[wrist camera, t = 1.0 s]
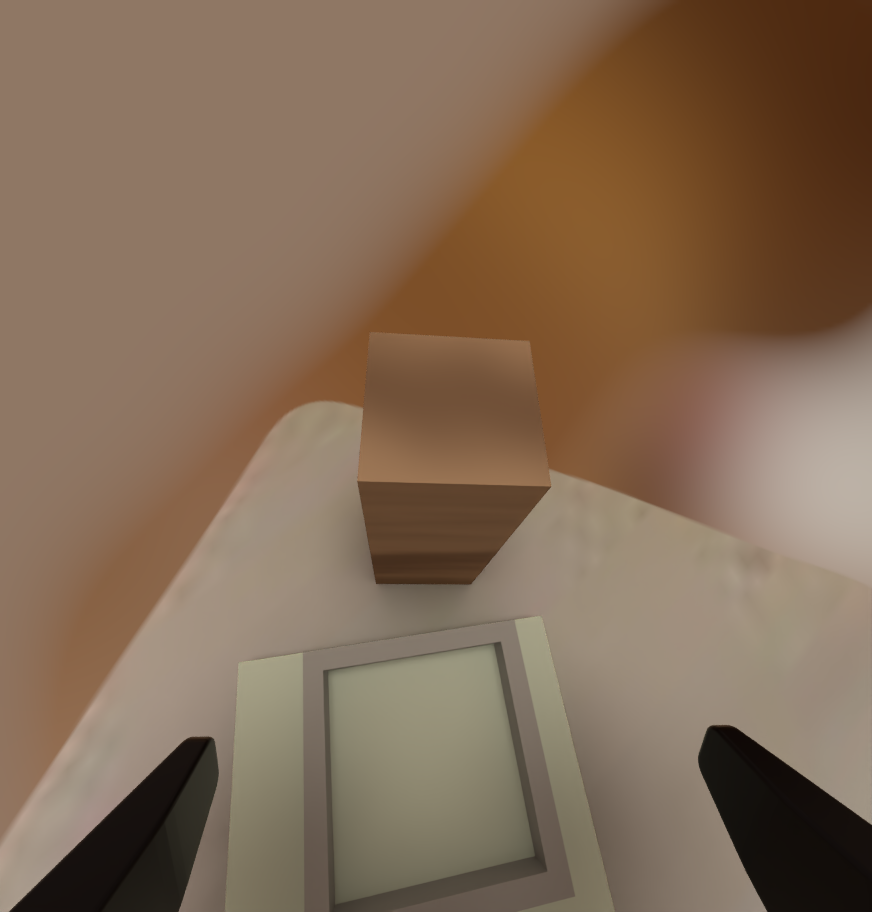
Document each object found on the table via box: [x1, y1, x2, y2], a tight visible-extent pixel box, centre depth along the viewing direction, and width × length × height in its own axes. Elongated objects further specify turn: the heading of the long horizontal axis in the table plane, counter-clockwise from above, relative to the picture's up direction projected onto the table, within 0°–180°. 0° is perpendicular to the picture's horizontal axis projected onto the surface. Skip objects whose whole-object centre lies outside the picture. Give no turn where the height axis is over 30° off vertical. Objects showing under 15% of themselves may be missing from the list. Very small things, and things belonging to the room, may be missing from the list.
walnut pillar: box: [357, 332, 551, 584], centre depth 18 cm, size 5×5×13 cm
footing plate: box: [225, 616, 615, 912], centre depth 16 cm, size 17×14×3 cm
